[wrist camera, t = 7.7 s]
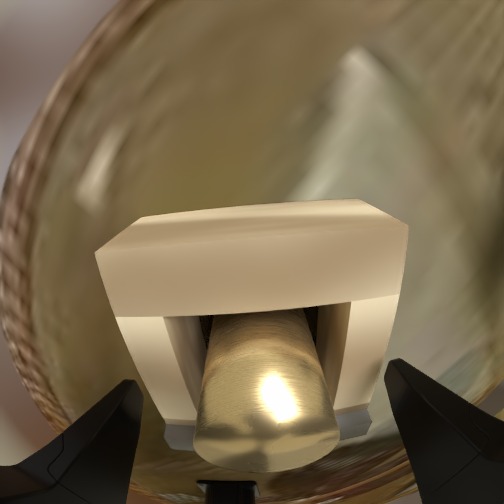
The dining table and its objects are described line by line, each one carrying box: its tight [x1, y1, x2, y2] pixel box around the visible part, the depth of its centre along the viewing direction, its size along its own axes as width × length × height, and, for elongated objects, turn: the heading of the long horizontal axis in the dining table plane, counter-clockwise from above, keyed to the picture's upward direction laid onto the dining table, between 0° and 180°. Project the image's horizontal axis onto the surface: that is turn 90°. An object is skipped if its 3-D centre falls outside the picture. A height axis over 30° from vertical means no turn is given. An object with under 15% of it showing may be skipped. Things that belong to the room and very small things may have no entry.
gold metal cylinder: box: [193, 307, 340, 473], centre depth 9 cm, size 4×4×7 cm
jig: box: [95, 199, 409, 451], centre depth 10 cm, size 10×9×5 cm
